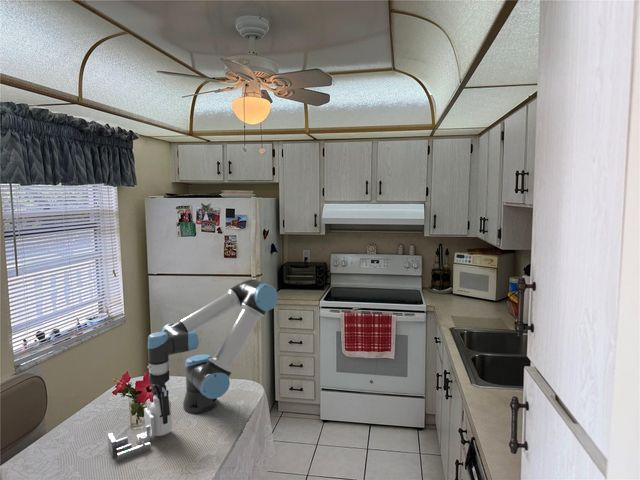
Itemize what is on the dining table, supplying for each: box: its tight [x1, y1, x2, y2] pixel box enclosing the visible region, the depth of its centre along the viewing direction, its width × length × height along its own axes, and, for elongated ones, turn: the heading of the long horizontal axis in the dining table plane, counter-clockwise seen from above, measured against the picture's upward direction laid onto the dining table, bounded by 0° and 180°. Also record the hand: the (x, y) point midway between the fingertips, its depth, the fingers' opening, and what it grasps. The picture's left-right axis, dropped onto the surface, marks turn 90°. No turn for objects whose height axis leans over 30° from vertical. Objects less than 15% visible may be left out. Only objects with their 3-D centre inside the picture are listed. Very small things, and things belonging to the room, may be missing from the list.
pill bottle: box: [149, 394, 173, 437], centre depth 166 cm, size 8×8×15 cm
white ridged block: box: [107, 432, 152, 462], centre depth 157 cm, size 12×10×6 cm
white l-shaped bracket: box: [135, 407, 156, 446], centre depth 161 cm, size 5×12×10 cm, turn 39°
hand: (161, 425), depth 166 cm, fingers closed on pill bottle, 8 cm apart
